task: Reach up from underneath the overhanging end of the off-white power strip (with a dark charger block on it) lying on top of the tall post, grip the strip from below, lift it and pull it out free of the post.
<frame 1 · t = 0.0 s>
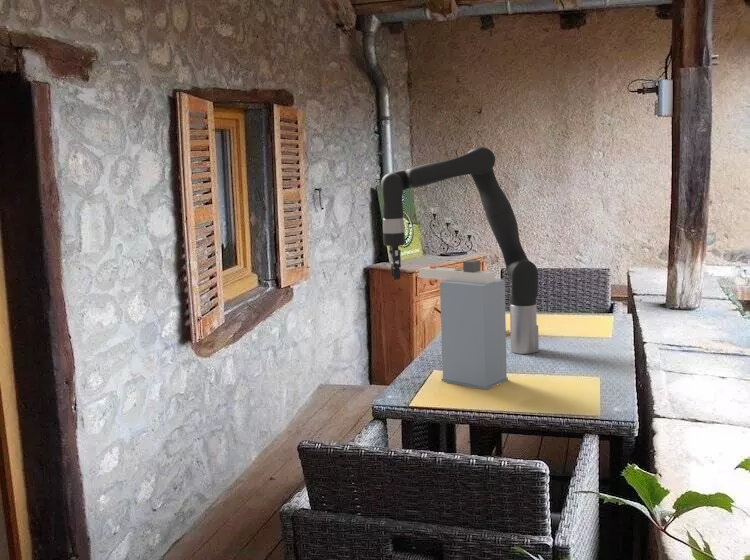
hand: (395, 277, 269), 29 cm above the table, tool pointing down, fingers open, 8 cm apart
post: (474, 380, 244), on the table
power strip: (456, 279, 243), point 32 cm above the table, touching post
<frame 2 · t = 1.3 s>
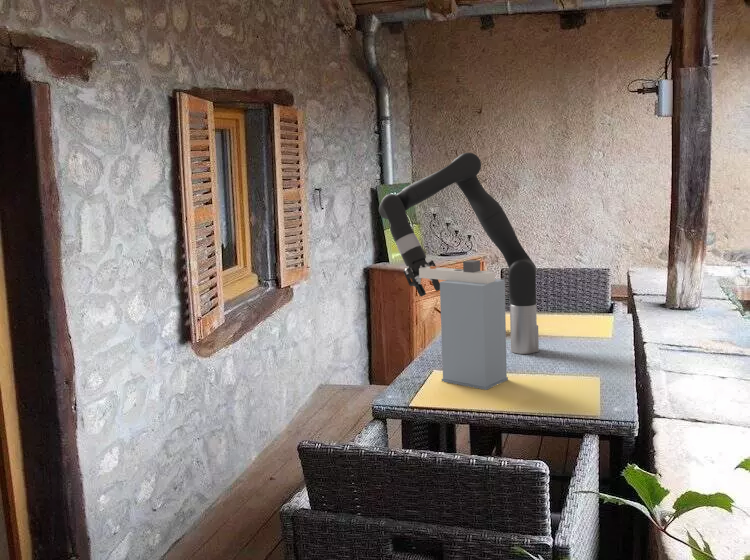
hand: (431, 292, 259), 25 cm above the table, tool tilted 30°, fingers open, 8 cm apart
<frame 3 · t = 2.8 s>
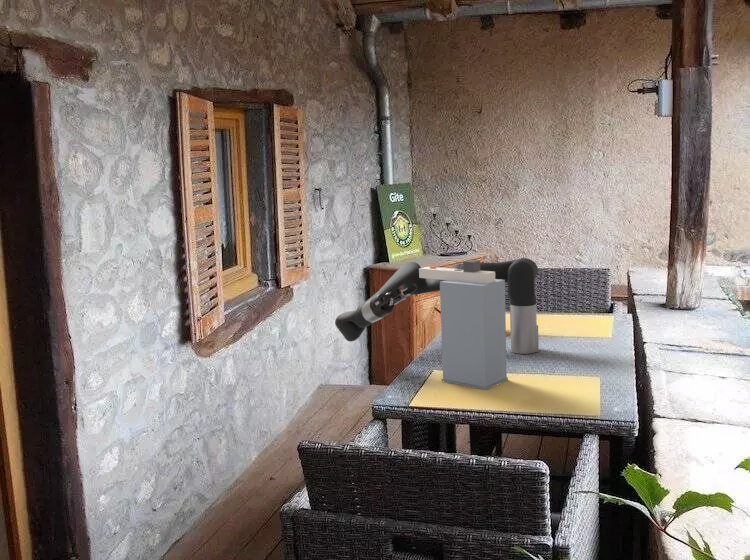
hand: (408, 288, 256), 28 cm above the table, tool pointing upward, fingers open, 8 cm apart
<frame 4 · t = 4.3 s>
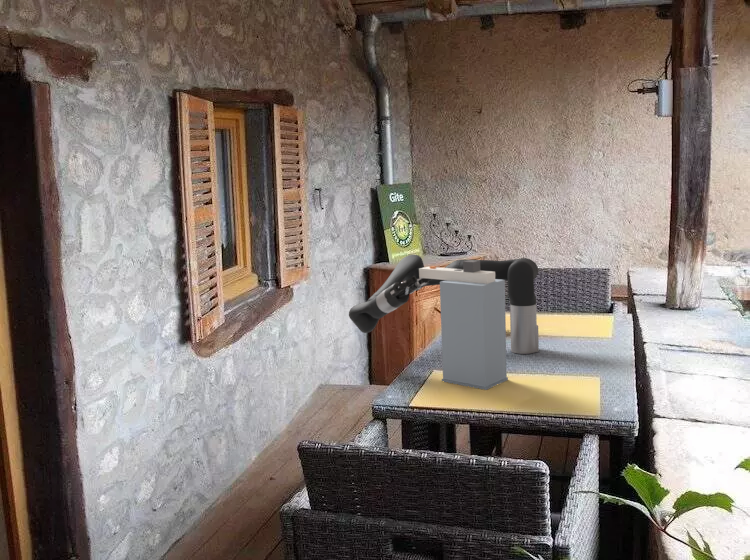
hand: (424, 276, 250), 32 cm above the table, tool pointing upward, fingers open, 8 cm apart
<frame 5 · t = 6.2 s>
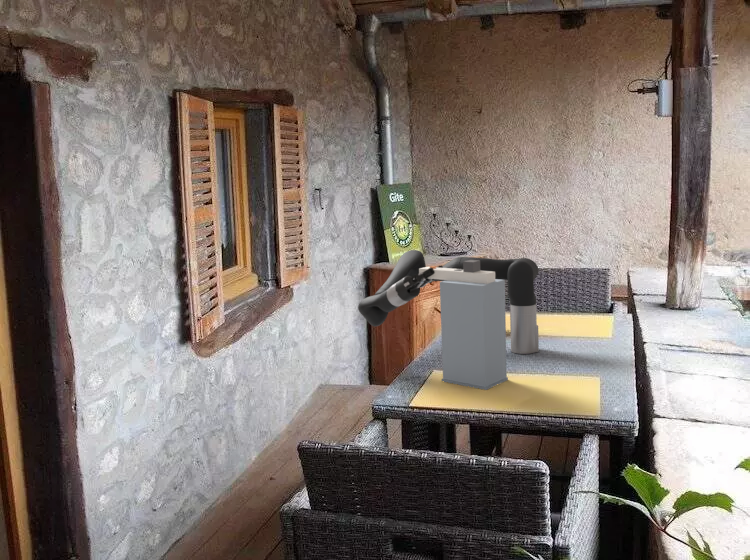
hand: (437, 269, 247), 35 cm above the table, tool pointing upward, fingers closed on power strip, 4 cm apart
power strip: (456, 279, 243), point 32 cm above the table, touching gripper, post
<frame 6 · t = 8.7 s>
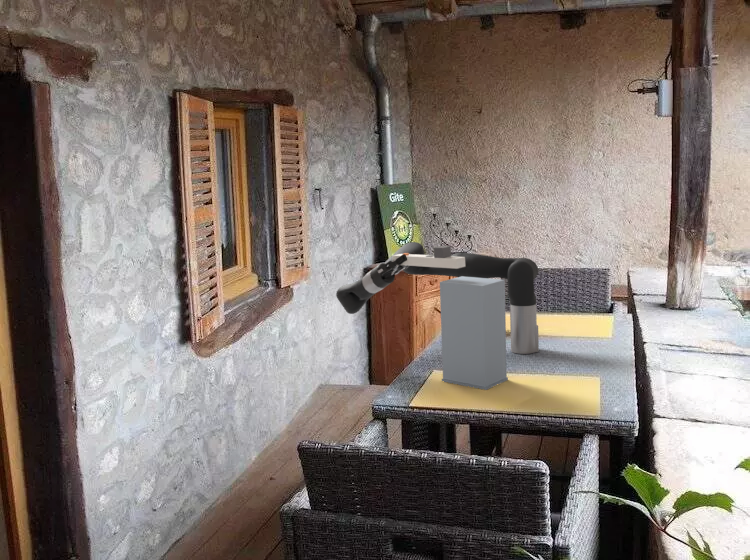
hand: (410, 255, 252), 39 cm above the table, tool pointing upward, fingers closed on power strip, 4 cm apart
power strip: (428, 265, 248), point 36 cm above the table, touching gripper
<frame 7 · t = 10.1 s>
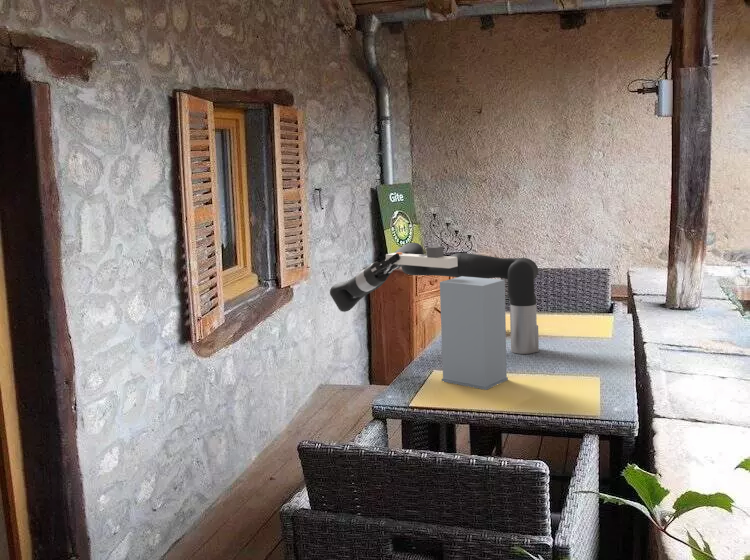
hand: (403, 255, 255), 39 cm above the table, tool pointing upward, fingers closed on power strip, 4 cm apart
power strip: (420, 264, 251), point 36 cm above the table, touching gripper
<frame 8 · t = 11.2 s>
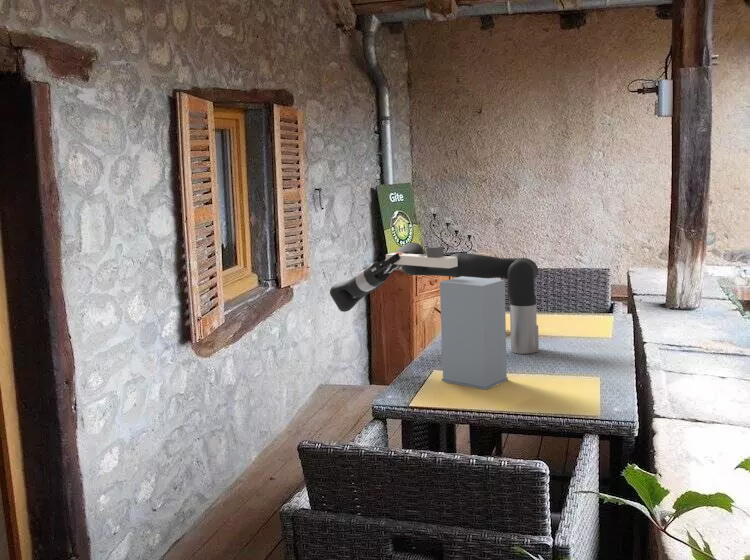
hand: (403, 255, 255), 39 cm above the table, tool pointing upward, fingers closed on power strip, 4 cm apart
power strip: (420, 264, 251), point 36 cm above the table, touching gripper
at the end: the gripper is holding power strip; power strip moved 14.4 cm from its start; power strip point 35.8 cm above the table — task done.
